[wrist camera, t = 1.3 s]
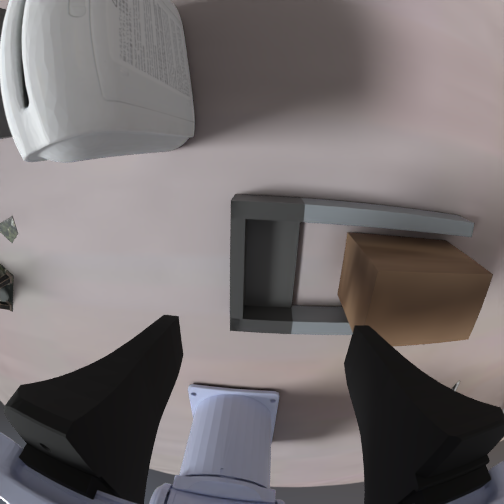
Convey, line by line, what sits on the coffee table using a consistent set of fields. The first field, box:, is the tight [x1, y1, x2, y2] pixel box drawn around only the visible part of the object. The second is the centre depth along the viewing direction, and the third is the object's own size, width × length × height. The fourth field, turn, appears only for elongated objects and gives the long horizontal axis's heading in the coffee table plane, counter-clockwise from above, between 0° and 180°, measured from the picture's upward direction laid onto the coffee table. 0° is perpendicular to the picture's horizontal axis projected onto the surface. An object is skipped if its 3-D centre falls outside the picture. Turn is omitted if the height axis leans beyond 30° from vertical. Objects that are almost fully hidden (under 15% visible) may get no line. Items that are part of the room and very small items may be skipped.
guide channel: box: [230, 194, 474, 335], centre depth 18 cm, size 8×16×2 cm, turn 88°
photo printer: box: [0, 0, 195, 162], centre depth 9 cm, size 10×4×12 cm, turn 8°
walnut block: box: [338, 232, 493, 346], centre depth 16 cm, size 4×8×6 cm, turn 88°
